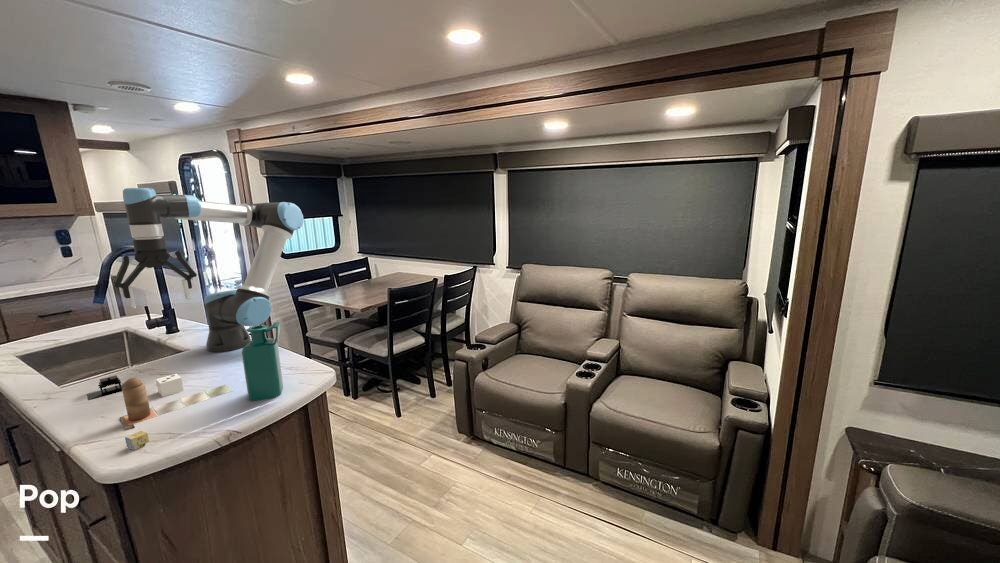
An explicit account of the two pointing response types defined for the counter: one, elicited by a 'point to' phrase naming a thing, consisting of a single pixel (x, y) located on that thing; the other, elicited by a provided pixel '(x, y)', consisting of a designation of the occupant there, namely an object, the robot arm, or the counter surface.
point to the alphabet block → (136, 440)
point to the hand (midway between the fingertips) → (162, 303)
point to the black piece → (108, 391)
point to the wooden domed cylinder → (136, 399)
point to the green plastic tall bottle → (262, 364)
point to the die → (169, 385)
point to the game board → (178, 404)
